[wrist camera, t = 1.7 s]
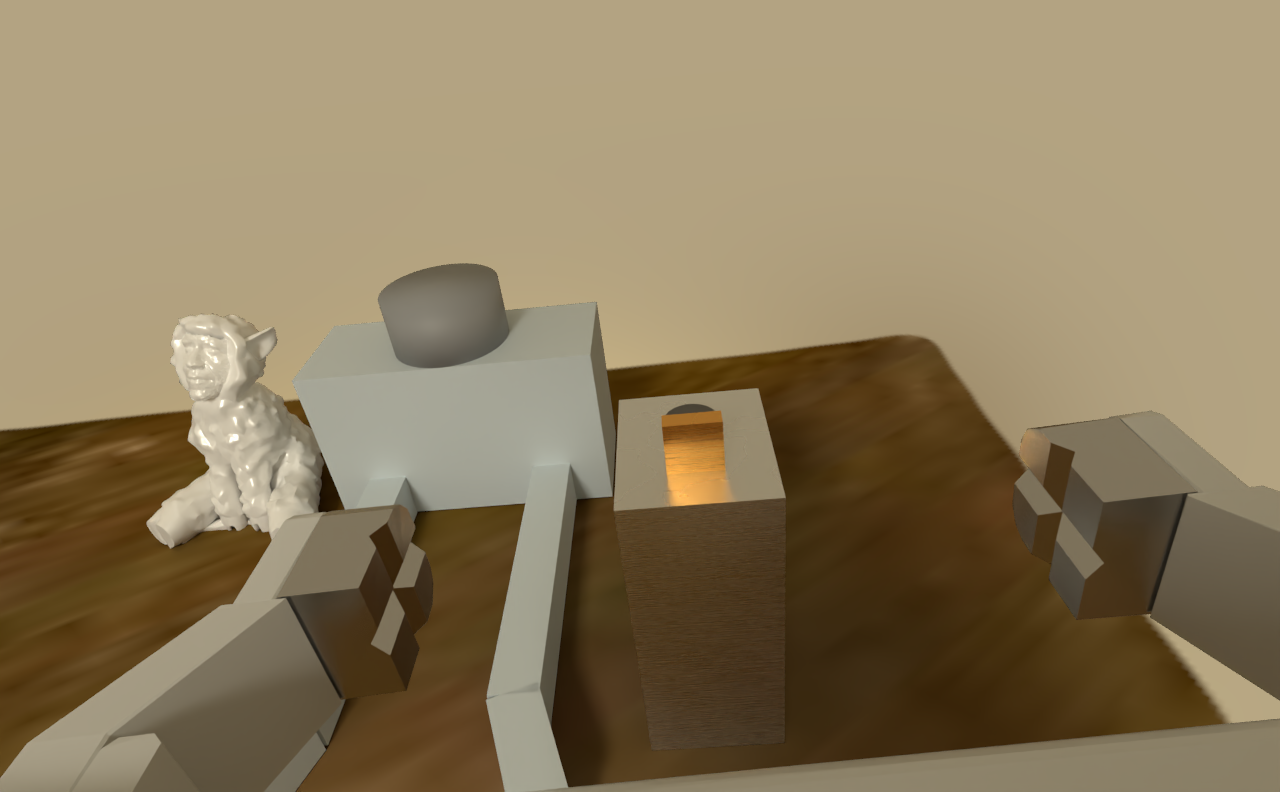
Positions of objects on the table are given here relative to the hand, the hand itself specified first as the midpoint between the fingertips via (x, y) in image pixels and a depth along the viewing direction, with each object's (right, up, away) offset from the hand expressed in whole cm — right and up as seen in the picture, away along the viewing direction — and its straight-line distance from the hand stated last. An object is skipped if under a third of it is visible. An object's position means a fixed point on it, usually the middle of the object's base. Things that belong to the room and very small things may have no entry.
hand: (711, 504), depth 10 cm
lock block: (+2, -10, +21) cm, 23 cm away
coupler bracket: (-10, -8, +26) cm, 29 cm away
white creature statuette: (-23, -5, +34) cm, 41 cm away
